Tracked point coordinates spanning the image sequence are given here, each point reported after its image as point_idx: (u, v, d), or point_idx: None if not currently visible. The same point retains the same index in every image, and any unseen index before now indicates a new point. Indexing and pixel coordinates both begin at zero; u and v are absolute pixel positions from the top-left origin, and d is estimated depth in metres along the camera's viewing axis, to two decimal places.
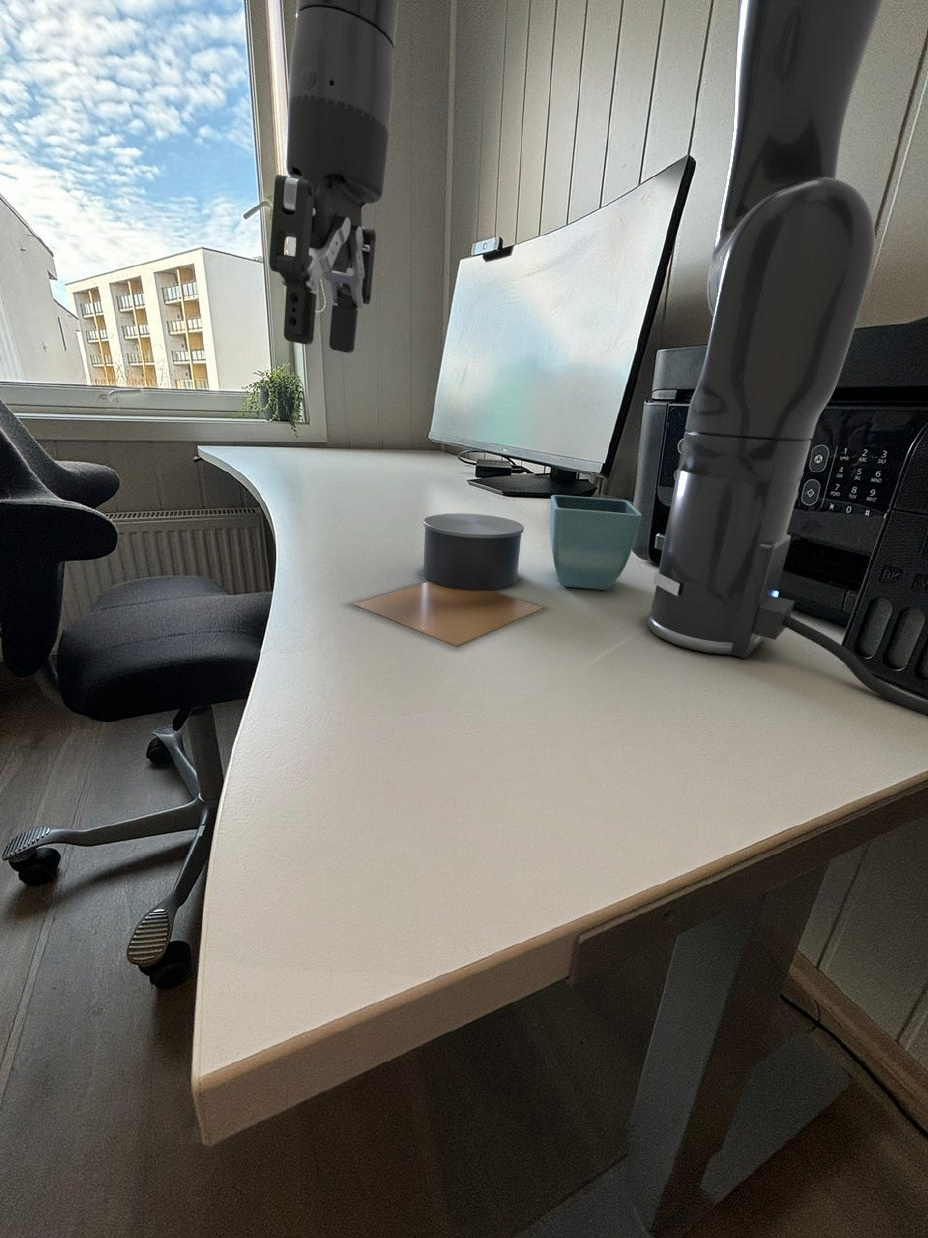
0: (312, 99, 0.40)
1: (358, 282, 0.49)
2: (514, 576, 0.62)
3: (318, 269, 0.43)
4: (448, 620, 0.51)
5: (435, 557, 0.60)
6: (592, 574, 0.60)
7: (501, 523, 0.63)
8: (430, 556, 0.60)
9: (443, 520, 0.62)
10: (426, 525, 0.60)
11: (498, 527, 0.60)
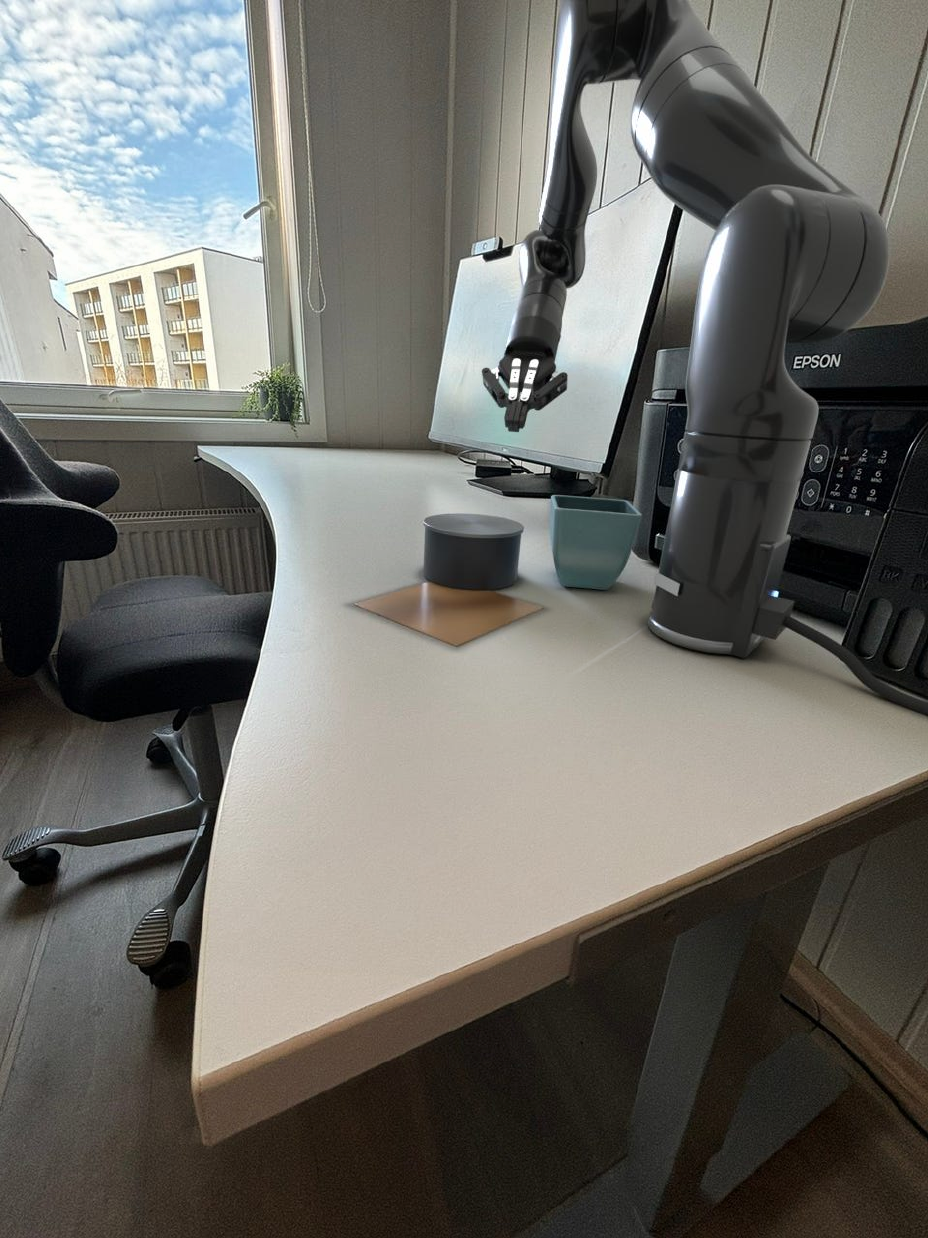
0: None
1: (523, 383, 0.79)
2: (514, 576, 0.62)
3: (512, 390, 0.79)
4: (448, 620, 0.51)
5: (435, 557, 0.60)
6: (592, 574, 0.60)
7: (501, 523, 0.63)
8: (430, 556, 0.60)
9: (443, 520, 0.62)
10: (426, 525, 0.60)
11: (498, 527, 0.60)
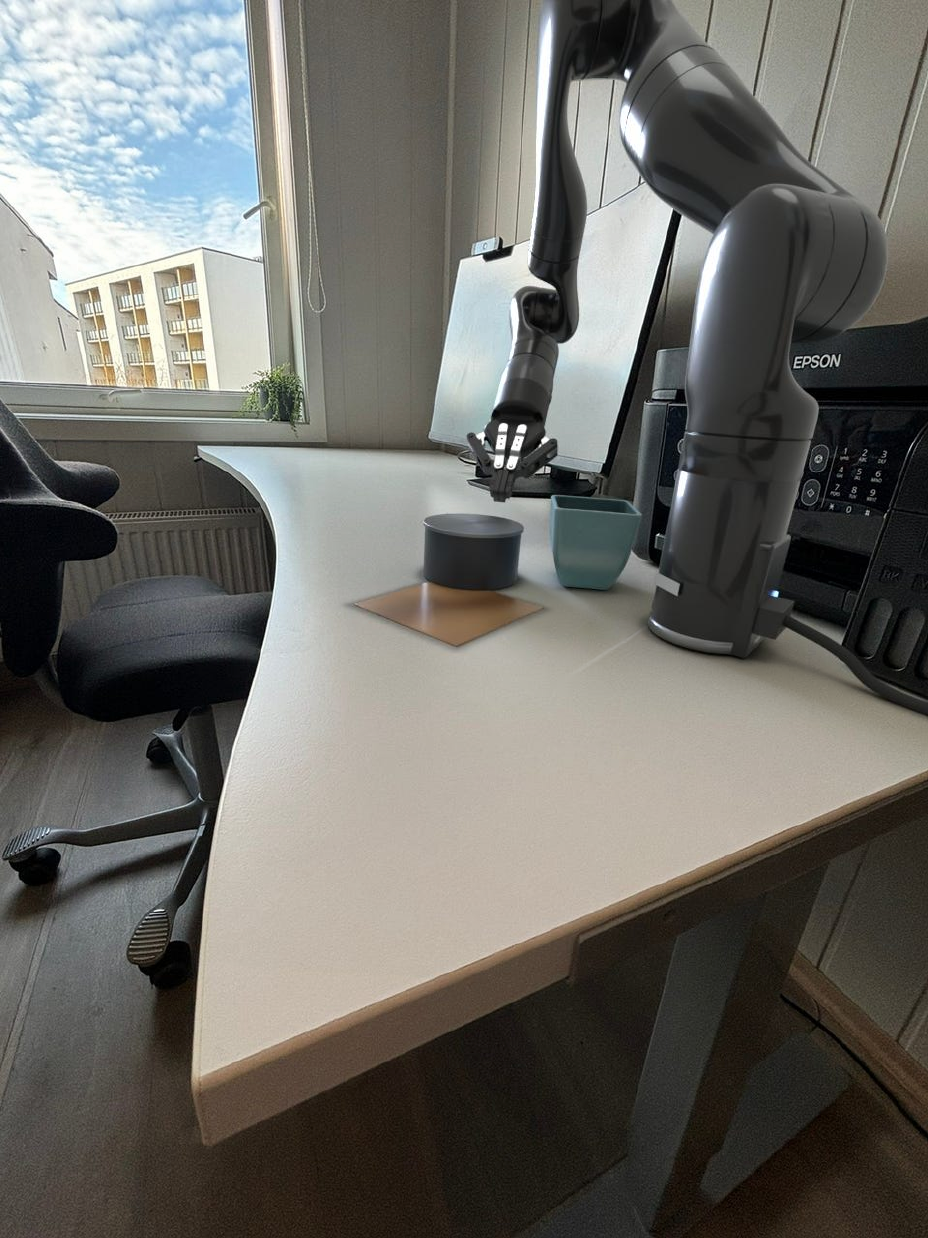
0: None
1: (510, 450, 0.74)
2: (514, 576, 0.62)
3: (498, 458, 0.74)
4: (448, 620, 0.51)
5: (435, 557, 0.60)
6: (592, 574, 0.60)
7: (501, 523, 0.63)
8: (430, 556, 0.60)
9: (443, 520, 0.62)
10: (426, 525, 0.60)
11: (498, 527, 0.60)
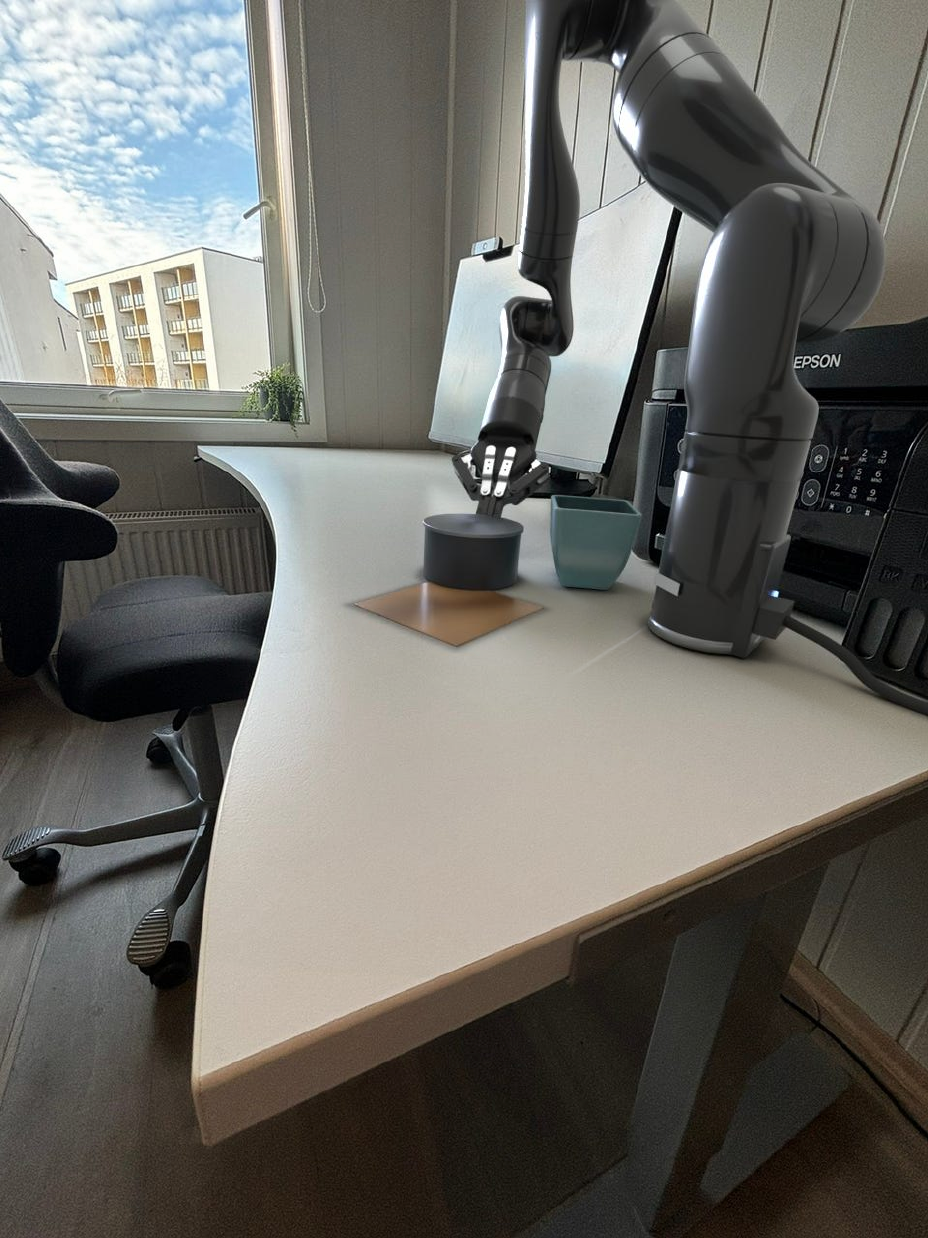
0: None
1: (498, 475, 0.69)
2: (514, 576, 0.62)
3: (485, 483, 0.69)
4: (448, 620, 0.51)
5: (435, 558, 0.60)
6: (592, 574, 0.60)
7: (501, 523, 0.63)
8: (430, 556, 0.60)
9: (443, 520, 0.62)
10: (426, 525, 0.60)
11: (498, 527, 0.60)
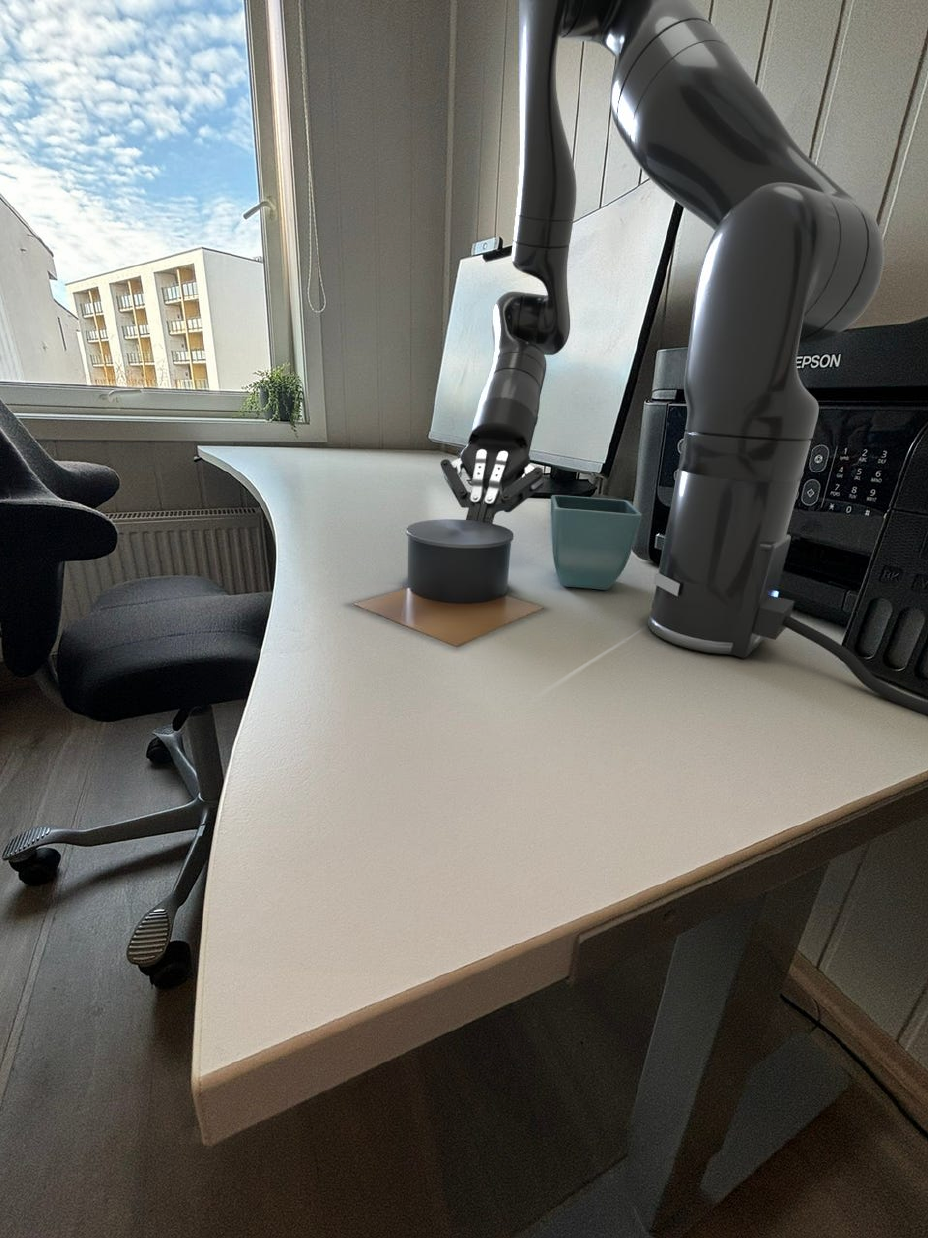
0: None
1: (489, 481, 0.65)
2: (503, 587, 0.58)
3: (475, 489, 0.65)
4: (448, 620, 0.51)
5: (417, 568, 0.56)
6: (592, 574, 0.60)
7: (490, 530, 0.59)
8: (413, 566, 0.56)
9: (428, 528, 0.58)
10: (408, 534, 0.56)
11: (485, 535, 0.56)
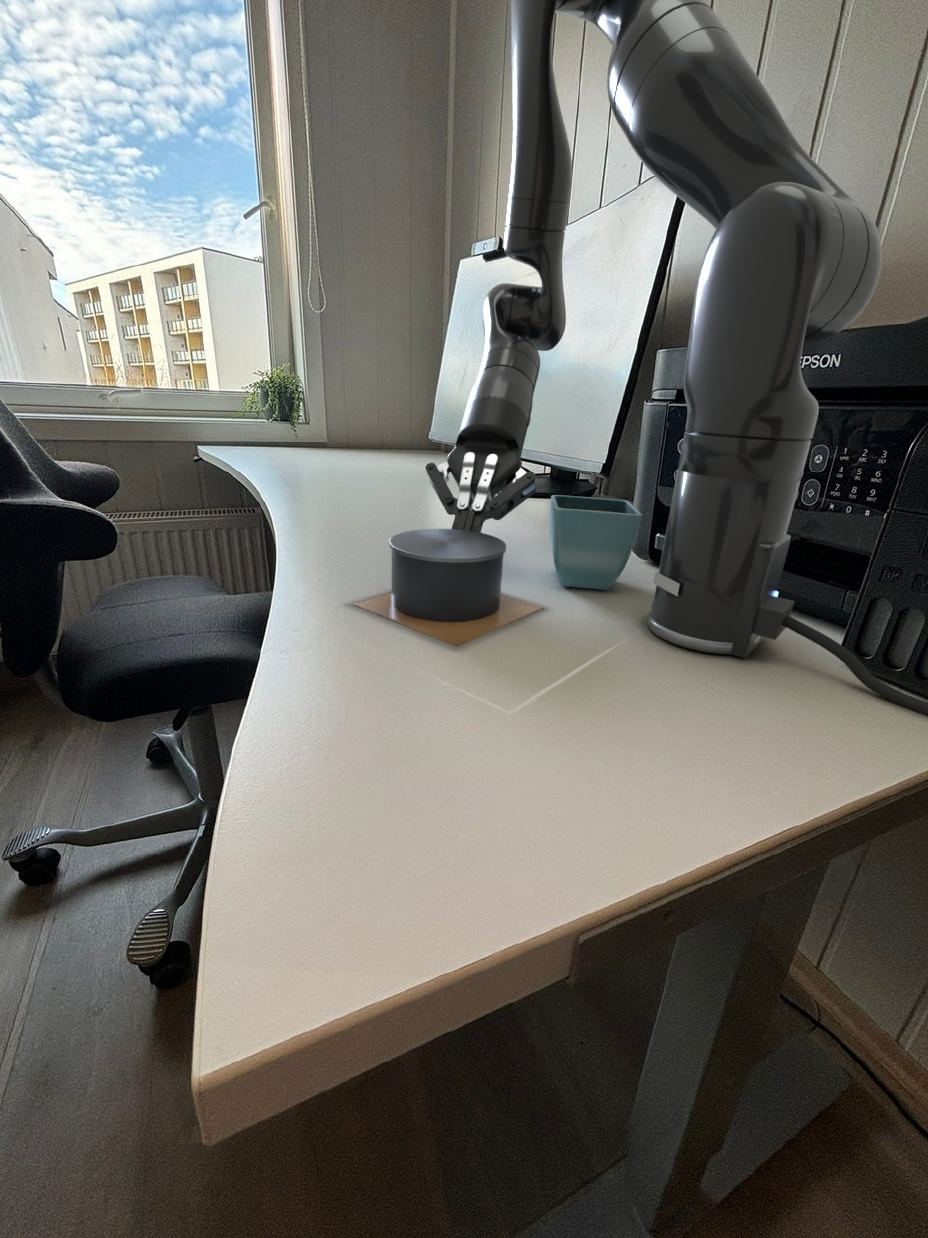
0: None
1: (477, 486, 0.60)
2: (497, 602, 0.54)
3: (462, 496, 0.60)
4: None
5: (405, 585, 0.51)
6: (592, 574, 0.60)
7: (479, 541, 0.54)
8: (400, 583, 0.51)
9: (412, 539, 0.53)
10: (393, 547, 0.51)
11: (477, 547, 0.52)
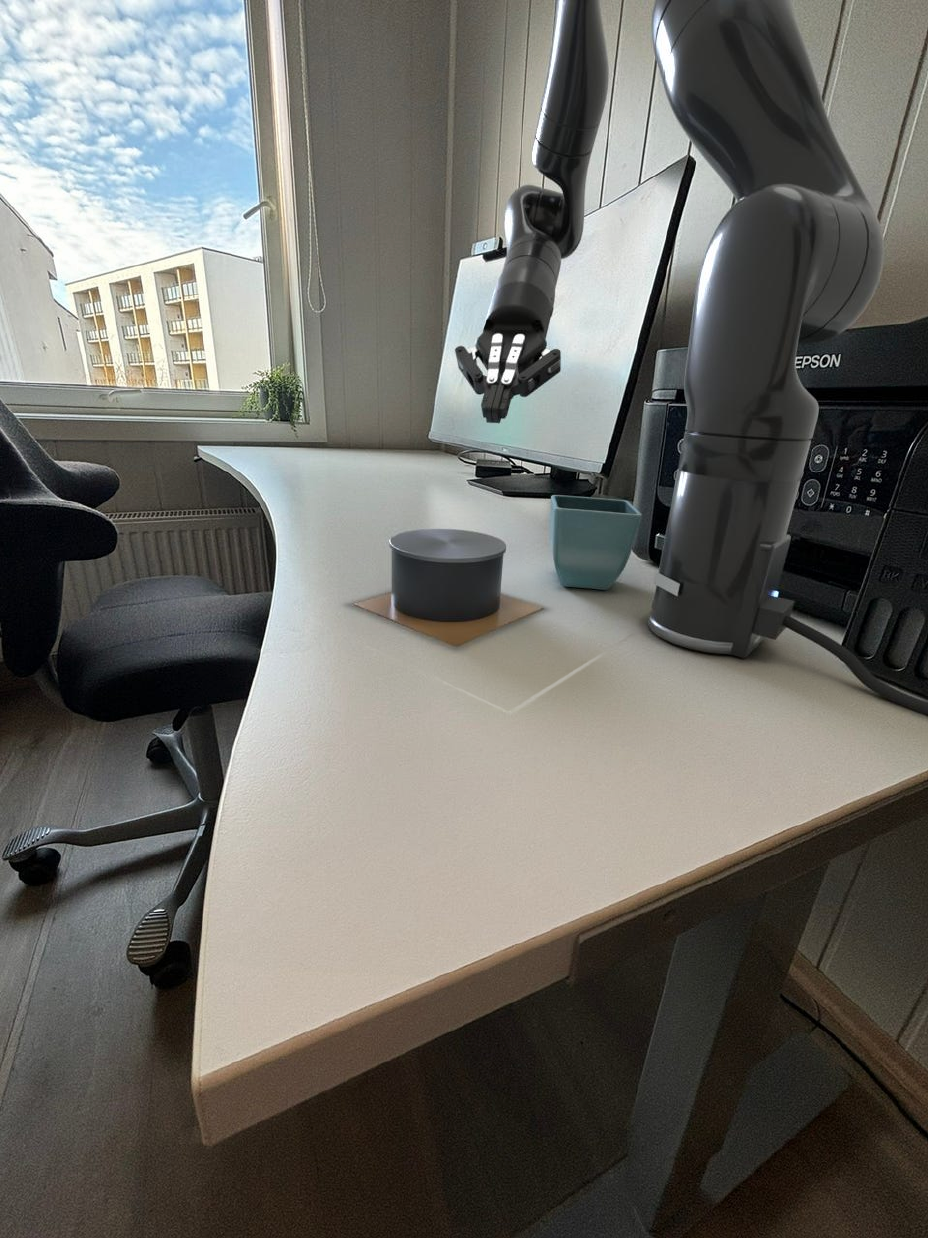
0: None
1: (506, 362, 0.63)
2: (497, 602, 0.54)
3: (491, 372, 0.63)
4: None
5: (405, 585, 0.51)
6: (592, 574, 0.60)
7: (479, 541, 0.54)
8: (400, 583, 0.51)
9: (412, 540, 0.53)
10: (393, 548, 0.51)
11: (477, 547, 0.52)
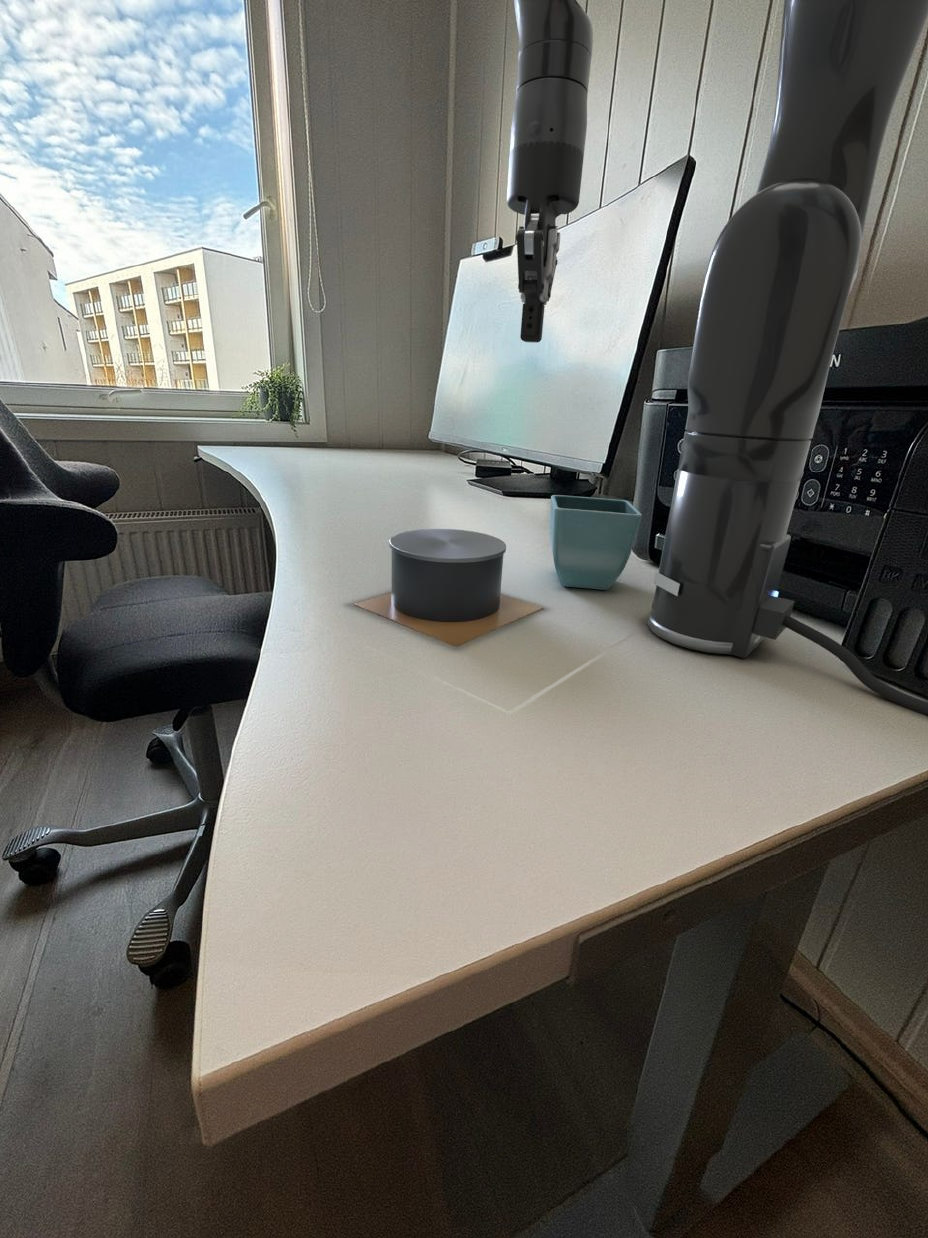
0: (536, 144, 0.54)
1: (551, 275, 0.61)
2: (497, 602, 0.54)
3: (545, 284, 0.60)
4: None
5: (405, 585, 0.51)
6: (592, 574, 0.60)
7: (479, 541, 0.54)
8: (400, 583, 0.51)
9: (412, 540, 0.53)
10: (393, 548, 0.51)
11: (477, 547, 0.52)
